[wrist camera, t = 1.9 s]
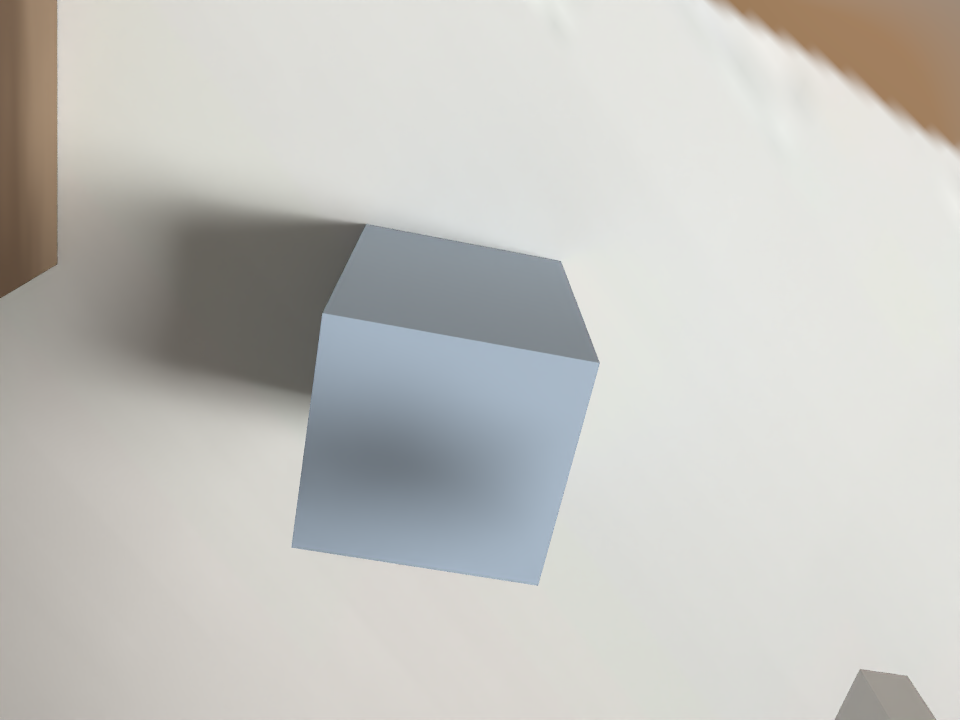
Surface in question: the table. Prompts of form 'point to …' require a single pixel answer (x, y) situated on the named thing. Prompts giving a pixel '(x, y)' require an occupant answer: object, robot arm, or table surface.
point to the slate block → (444, 407)
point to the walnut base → (27, 140)
